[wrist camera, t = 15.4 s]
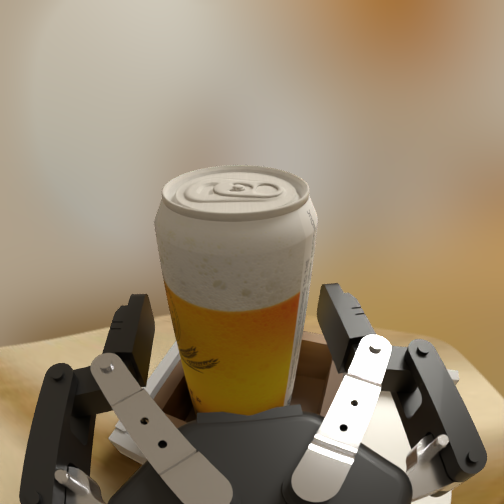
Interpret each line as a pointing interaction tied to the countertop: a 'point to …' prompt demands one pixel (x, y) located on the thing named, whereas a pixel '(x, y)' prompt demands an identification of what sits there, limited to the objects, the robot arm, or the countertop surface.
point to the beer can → (237, 282)
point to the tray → (384, 413)
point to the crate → (304, 391)
